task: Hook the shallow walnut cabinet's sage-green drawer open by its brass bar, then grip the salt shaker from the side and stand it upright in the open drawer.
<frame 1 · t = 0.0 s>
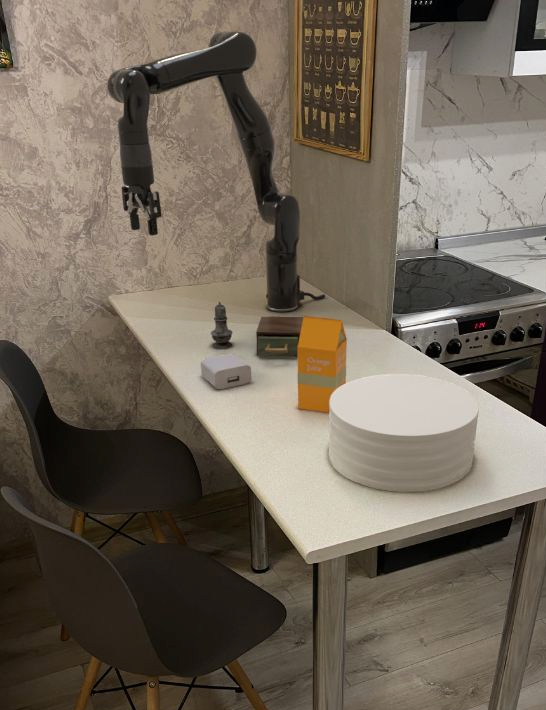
hand: (144, 232, 191), 29 cm above the table, tool pointing down, fingers open, 8 cm apart
cabinet: (280, 347, 201), on the table
salt shaker: (222, 345, 203), on the table
orange juice: (322, 405, 170), on the table
plate stack: (399, 456, 148), on the table
charger: (221, 376, 185), on the table
drawer: (278, 342, 195), point 3 cm above the table, slide at 1.0 cm
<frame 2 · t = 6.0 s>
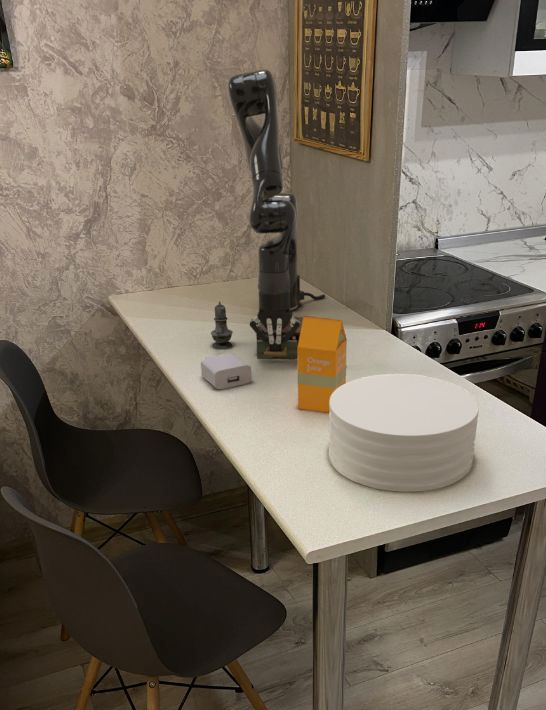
hand: (275, 357, 188), 2 cm above the table, tool pointing down, fingers closed
drawer: (278, 345, 193), point 3 cm above the table, slide at 3.4 cm, touching gripper
everything else where it was.
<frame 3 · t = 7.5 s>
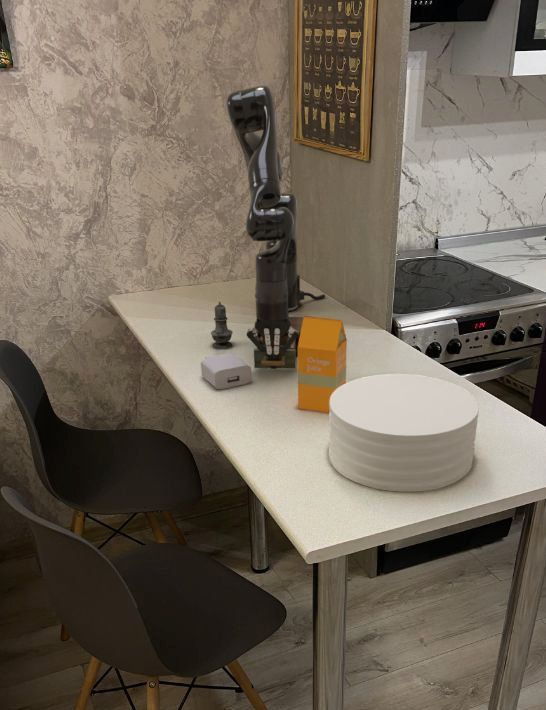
hand: (273, 367, 183), 2 cm above the table, tool pointing down, fingers closed
drawer: (275, 354, 188), point 3 cm above the table, slide at 9.5 cm
everything else where it was.
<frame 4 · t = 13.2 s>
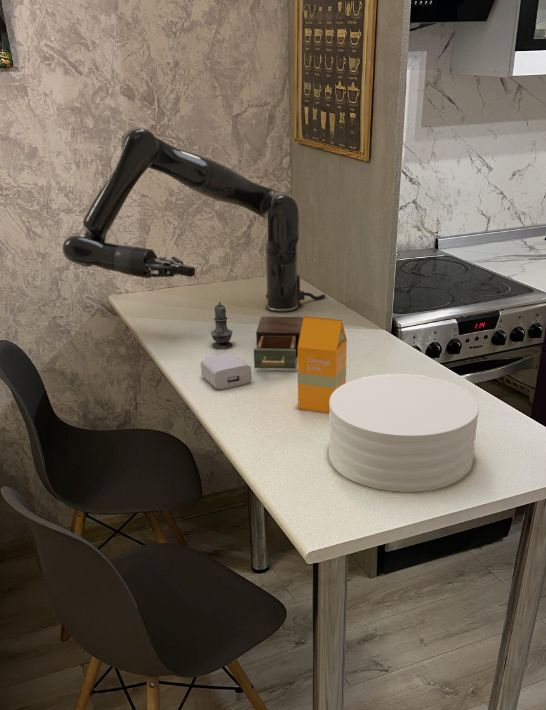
hand: (193, 272, 196), 19 cm above the table, tool horizontal, fingers closed
nothing on the table moved.
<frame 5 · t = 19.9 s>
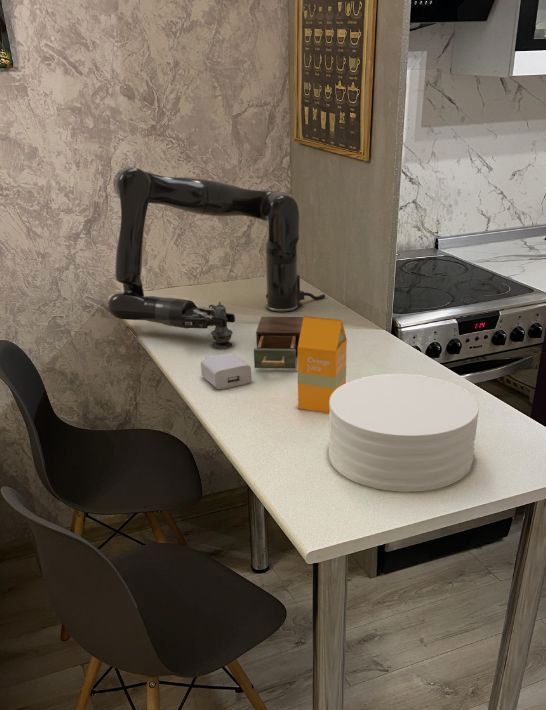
hand: (230, 320, 198), 7 cm above the table, tool horizontal, fingers closed on salt shaker, 3 cm apart
salt shaker: (222, 345, 203), on the table, touching gripper
everything else where it was.
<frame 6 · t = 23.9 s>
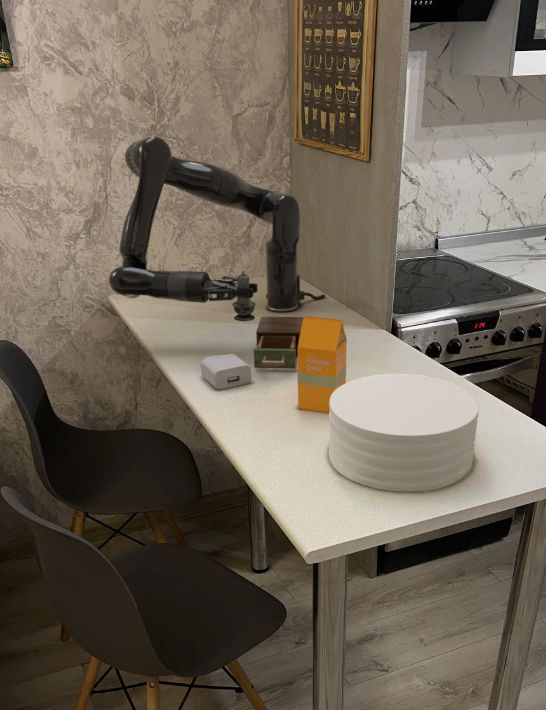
hand: (254, 290, 187), 17 cm above the table, tool horizontal, fingers closed on salt shaker, 3 cm apart
salt shaker: (244, 318, 191), point 10 cm above the table, touching gripper
everything else where it was.
when the fingers open (9 cm above the table, at t = 28.0 s): salt shaker stays where it is, resting on drawer.
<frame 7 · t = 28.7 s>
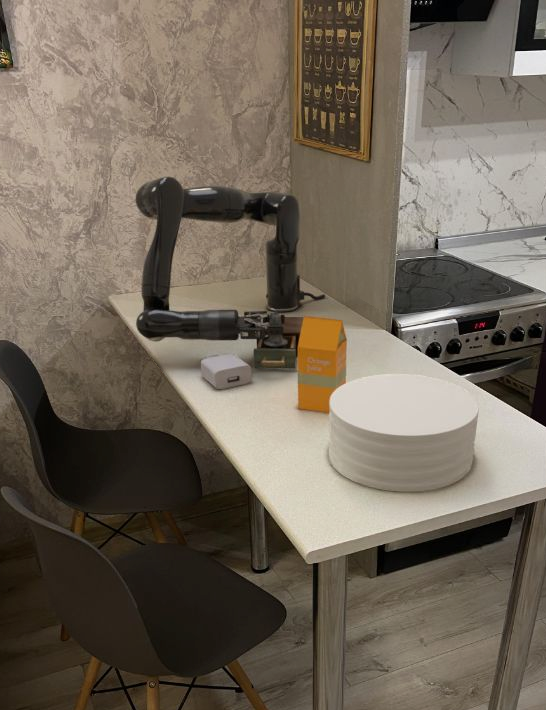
hand: (284, 324, 187), 10 cm above the table, tool horizontal, fingers open, 8 cm apart
salt shaker: (276, 356, 191), point 2 cm above the table, touching drawer
drawer: (275, 354, 188), point 3 cm above the table, slide at 9.5 cm, touching salt shaker
everything else where it was.
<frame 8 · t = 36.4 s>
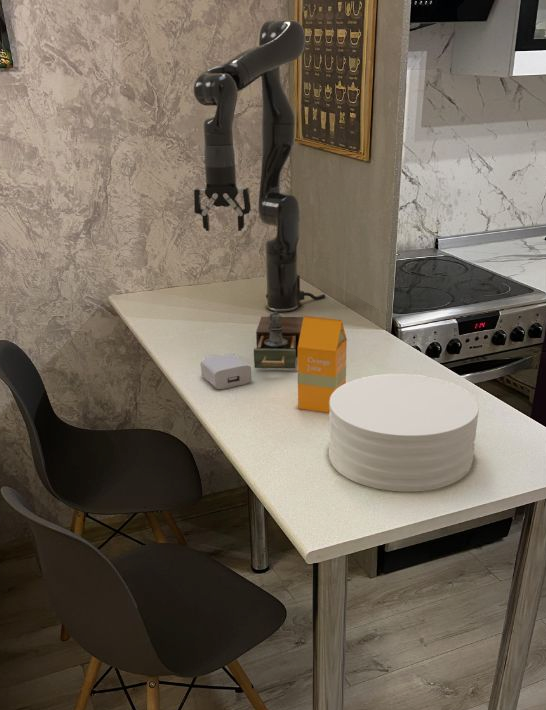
hand: (223, 230, 197), 28 cm above the table, tool pointing down, fingers open, 8 cm apart
nothing on the table moved.
at the end: drawer slide at 9.5 cm; salt shaker 0.1 cm from the target spot, point 1.7 cm above the table; salt shaker tilted 0° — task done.
